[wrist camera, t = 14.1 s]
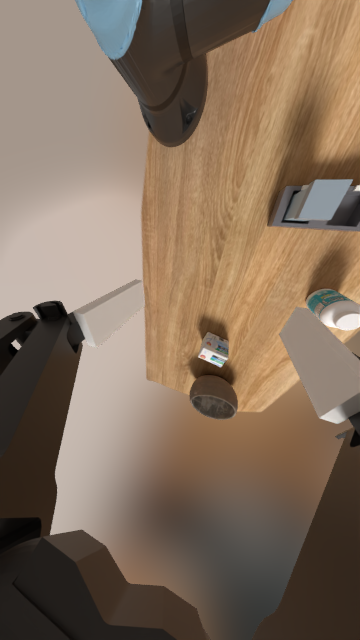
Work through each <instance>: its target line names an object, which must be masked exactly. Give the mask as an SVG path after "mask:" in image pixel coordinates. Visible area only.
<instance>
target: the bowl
mask: <svg viewBox="0 0 360 640" xmlns="http://www.w3.org/2000/svg"><path fill="white" fill-rule="evenodd" d="M190 402H191V404H192V406H193V407H194V408H195V409H196V410H197V411H199V412H200V413H201V414H203V415H205V416H207V417H209V418H213V419H218V420H226V419H230V418H232V417H234V416H235V414H236V412H237V408H238V401H237V396H236V393H235V391H234V389H233V388H232V386H231V385H230V384H229V383H228V382H227V381H225V380H224V379H222V378H220V377H218V376H213V375H204V376H201V377H199V378H197V379H196V380H195V382H194V383H193V385H192V387H191V390H190Z"/></svg>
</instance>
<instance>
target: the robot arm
mask: <svg viewBox="0 0 360 640" xmlns="http://www.w3.org/2000/svg"><path fill="white" fill-rule="evenodd" d="M75 1H76V3H77V6H78V8H79V10H80V12H81V14H82V16H83V17H84V19H85V21H86V22H87V24H88V26H89V27H90V29H91V31H92V32H93V34H94V35H95V37H96V39H97V42H98V44H99V46H100V47H101V49H102V51H104V53H105V55H107V56H108V58H109V59H110V60H111V62H112V63H113V65H114V66H115V67H116V69H117V70H118V72H119V73H120V74H121V76H122V77H123V78H124V80H125V81H126V83H127V84H128V85H129V87H130V88H131V89H132V91H133V92H134V94H135V95H136V96H137V98H138V102H139V105H140V109H141V112H142V115H143V118H144V121H145V123H146V125H147V127H148V129H149V130H150V132H151V133H152V135H153V136H154V137H155V138H156V140H157V141H158V142H160V143H161V144H162V145H164V146H167V147H175V146H179V145H181V144H182V143H184V142H185V141H186V140H187V139H188V138H189V137H190V136H191V135H192V133H193V132H194V130H195V129H196V127H197V125H198V123H199V121H200V118H201V115H202V112H203V109H204V105H205V101H206V95H207V86H208V69H207V60H206V53H208V52H210V51H212V50H214V49H216V48H218V47H220V46H222V45H224V44H226V43H228V42H230V41H232V40H234V39H236V38H238V37H240V36H242V35H244V34H247V33H249V32H252V33H254V32H257V30H258V29H260V28H261V26H262V25H263V24H264V23H266V22H268V21H270V20H271V19H273V18H275V17H276V16H278V15H280V14H282V13H283V12H284V11H285V10H286V9H287V7H288V6H289V5H290V4H291V2H292V1H293V0H75ZM144 306H145V299H144V289H143V281H141V280H134V281H132V282H130V283H128V284H126V285H124V286H122V287H120V288H118V289H116V290H114V291H112V292H110V293H108V294H106V295H105V296H103V297H101V298H99V299H97V300H95V301H93V302H91V303H89V304H87V305H85V306H83V307H81V308H79V309H77V310H75V311H73V312H72V313H70V314H67V312H66V310H65V308H64V306H63V304H62V302H60V301H49V302H44V303H41V304H38V305H36V306H34V307H33V309H34V310H35V312H36V313H37V315H38V317H39V318H40V319H36V318H35V316H34V315H33V313H31V312H18V313H13V314H12V315H9V316H7V317H5V318H3V319H1V320H0V640H211V639H210V637H209V636H208V634H207V633H206V632H205V630H204V629H203V627H202V624H201V621H200V618H199V614H198V611H197V609H196V608H195V607H193V606H192V605H191V604H189V603H188V602H186V601H184V600H183V599H182V598H180V597H179V596H177V595H176V594H175V593H173V592H172V591H170V590H169V589H167V588H166V587H164V586H153V585H140V584H139V585H138V584H130V583H128V582H127V581H126V579H125V578H124V576H123V574H122V573H121V571H120V570H119V568H118V566H117V564H116V563H115V561H114V559H113V558H112V556H111V554H110V552H109V551H108V549H107V547H106V546H105V545H103V544H102V543H100V542H99V541H98V540H96V539H94V538H93V537H91V536H90V535H89V534H87V533H86V532H84V531H83V530H78V531H72V532H66V533H61V534H55V535H50V530H51V524H52V520H53V515H54V510H55V504H56V498H57V485H56V481H55V468H56V463H57V459H58V455H59V450H60V446H61V441H62V437H63V432H64V427H65V423H66V419H67V414H68V410H69V405H70V400H71V396H72V391H73V387H74V383H75V378H76V373H77V369H78V365H79V360H80V356H81V351H82V346H83V345H82V341H83V340H84V339H86V342H87V344H88V345H89V346H92V347H96V348H98V347H99V346H100V345H101V344H102V343H103V342H104V341H105V340H107V339H108V338H109V337H110V336H111V335H112V334H113V333H115V332H116V331H117V330H118V329H119V328H120V327H121V326H123V325H124V324H125V323H126V322H127V321H128V320H129V319H131V318H132V317H133V316H134V315H135V314H136V313H137V312H138V311H140V310H141V309H142V308H143V307H144ZM279 335H280V337H281V339H282V342H283V344H284V346H285V348H286V350H287V352H288V354H289V356H290V358H291V360H292V362H293V365H294V367H295V369H296V371H297V373H298V375H299V377H300V379H301V381H302V383H303V385H304V388H305V390H306V392H307V394H308V396H309V398H310V400H311V402H312V404H313V407H314V409H315V410H316V413H317V415H318V417H319V418H321V419H324V420H327V421H330V422H333V423H336V424H339V423H341V422H343V421H345V420H346V419H349V420H350V422H351V423H352V425H353V426H354V427H353V428H351V429H349V430H346V431H344V432H342V433H340V434H338V435H337V436H336V438H338V439H340V438H342V437H343V438H345V439H344V441H343V444H342V446H341V449H340V451H339V454H338V457H337V459H336V462H335V464H334V467H333V469H332V472H331V474H330V477H329V480H328V482H327V485H326V487H325V490H324V492H323V495H322V497H321V500H320V503H319V505H318V508H317V510H316V513H315V516H314V518H313V521H312V523H311V526H310V528H309V531H308V533H307V536H306V538H305V541H304V544H303V546H302V549H301V551H300V554H299V556H298V559H297V561H296V564H295V566H294V569H293V572H292V574H291V577H290V579H289V582H288V585H287V587H286V589H285V592H284V595H283V597H282V600H281V602H280V604H279V606H278V608H277V609H276V611H275V612H274V613H273V614H271V615H269V616H268V617H266V618H264V619H263V621H262V622H261V623H260V624H259V626H258V628H257V630H256V632H255V634H254V636H253V638H252V640H360V357H358V356H357V355H356V354H354V353H353V352H351V351H350V350H349V349H348V348H347V347H346V346H345V345H344V344H343V343H342V342H341V341H340V340H339V339H338V338H337V337H336V336H335V335H334V334H333V333H332V332H331V331H330V330H329V329H328V328H327V327H326V326H325V325H324V324H323V323H322V322H321V321H320V320H319V319H318V318H317V317H316V316H315V315H314V314H313V313H312V312H311V311H310V310H309V309H306V308H300V307H296V308H295V310H294V311H293V313H292V314H291V316H290V318H289V319H288V321H287V322H286V324H285V326H284V327H283V329H282V330H281V332H280V334H279ZM15 339H16V340H17V342H18V343H19V344H20V345H21V346H22V347H21V348H20V349H19V350H17V349H16V348H15V347H13V345H12V344H11V343H12V342H13V341H14V340H15Z"/></svg>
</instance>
